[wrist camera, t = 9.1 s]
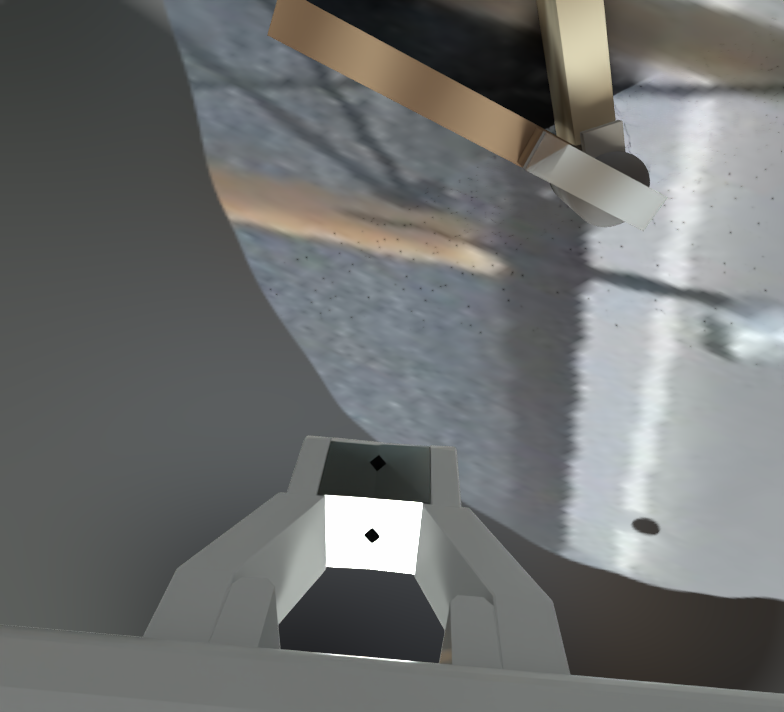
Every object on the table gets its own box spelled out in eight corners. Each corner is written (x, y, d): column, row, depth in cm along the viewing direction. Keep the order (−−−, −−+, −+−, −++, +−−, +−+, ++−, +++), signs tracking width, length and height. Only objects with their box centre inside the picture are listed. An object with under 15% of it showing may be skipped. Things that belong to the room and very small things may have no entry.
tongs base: (614, 191, 30) (652, 215, 26) (554, 209, 31) (579, 235, 26) (565, -269, 21) (608, -368, 17) (481, -229, 22) (499, -314, 17)
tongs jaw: (623, 172, 30) (669, 195, 24) (602, 204, 31) (642, 233, 25) (299, -2, 26) (268, -21, 21) (286, 39, 27) (254, 32, 22)
